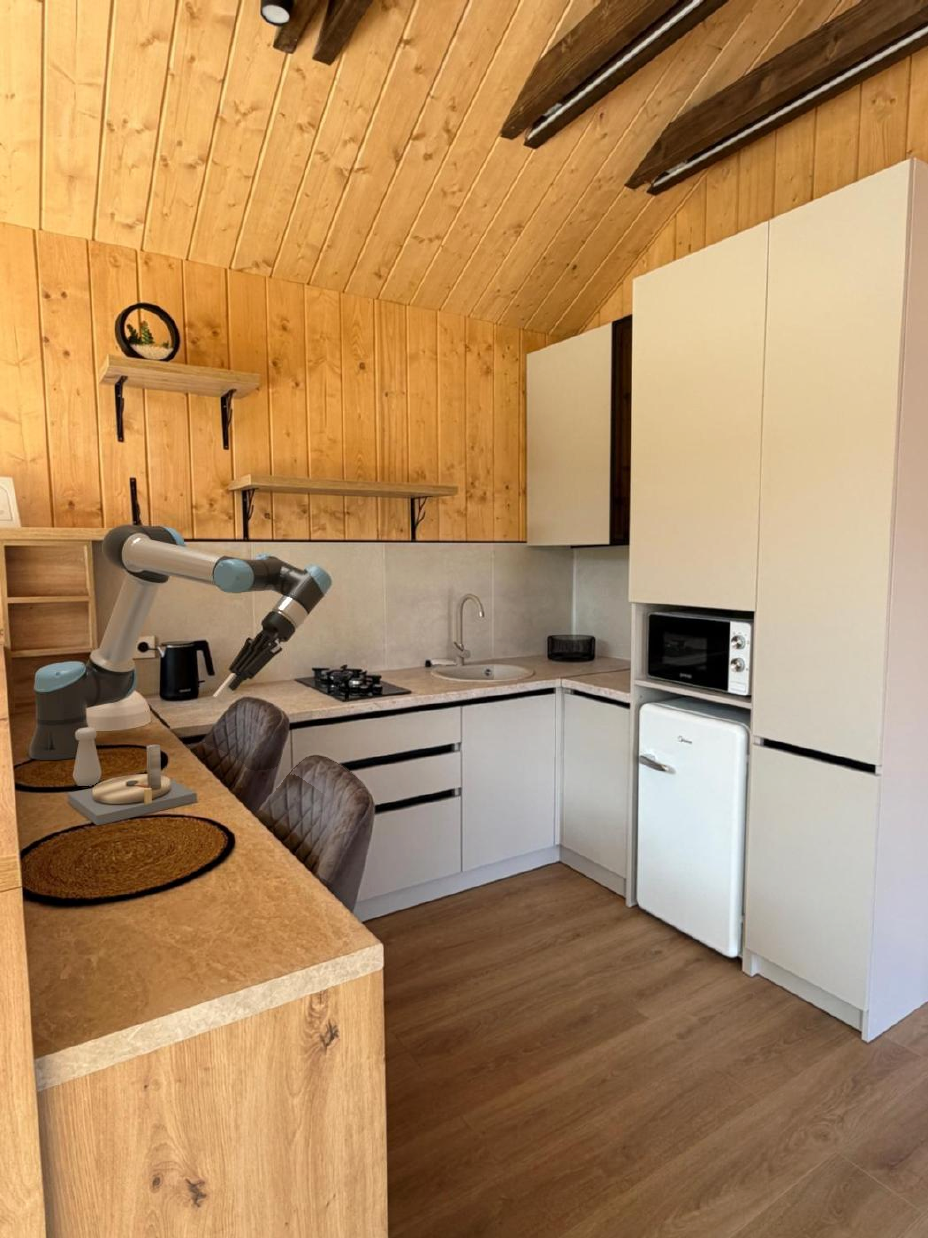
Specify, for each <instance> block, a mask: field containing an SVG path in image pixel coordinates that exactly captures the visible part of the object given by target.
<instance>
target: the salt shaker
mask: <svg viewBox="0 0 928 1238" xmlns="http://www.w3.org/2000/svg"><path fill="white" fill-rule="evenodd" d="M97 732H98V731H96V730H95V729H94V728H89V727H87V728H81V729H78V730H77V731H76V733H75V738H76V739H77V740H79V744H78V750H77V755H76V757H75V761H74V767H73V773H72V777H73V779H74V782H75V783H76V785H77V787H78V786H89V787H93V786H92V785H94V786H95V784H96V783H97V784H98V783H100V782H99V781H100V778H101V776H102V773H103V772H102V768H101V765H100V759H99V756H98V751H97V747H96V746H97V745H96V742H95V741H94V740H95V739H96V738H97V735H98V733H97ZM97 784H96V785H97Z"/></svg>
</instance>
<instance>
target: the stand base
mask: <svg viewBox="0 0 928 1238" xmlns="http://www.w3.org/2000/svg"><path fill="white" fill-rule="evenodd" d="M161 775H162V776H165V777H167V778H169V779H170V790H169V791H168V792H167V793H166V794H164V795H162V796H159V797H157V798H154V799H152V789H151V788H146V789H144V801H141V802H135V803H125V804H109V803H102V802H98V801H96V800H94V798H93V787H91V788H87V789H81V790H78V791H73V792H68V793H67V803H68V804H69V805H70V806H72V807H73V808H74V809H76V810H77V811H78V812H79V813H81V814H82V815H83V816H84V817H86V818H87V819H88V820H89V821H91V822H92V823H93V824H94V825H96V826H98V827H99V826H103V825H105V824H109V823H114V822H118V821H119V822H120V821H123V820H127V819H131V818H135V817H140V816H144V815H147V814H152V813H156V812H159V811H164V810H169V809H172V808H173V809H174V808H177V807H181V806H185V805H190V804H193V803H197V802H198V800H197V799H198V796H197V795H198V794H197V793H198V792H196V791H194V790H192V789H190V788H188V787H187V786H185V785H183V784H181V783H179V782H178V781H176V780H174V779H172V778H170V777H168V776H167V775H165V774H163V773H161Z"/></svg>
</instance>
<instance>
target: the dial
mask: <svg viewBox="0 0 928 1238" xmlns="http://www.w3.org/2000/svg"><path fill="white" fill-rule="evenodd" d="M161 764H162V763H161V745H160V744H150V745H147V746H146V773H142V774H141V773H140V774H137V773H136V774H128V775H123V776H117V777H112V778H109V779H108V778H107V780H103V781H100V782H98V783H97V784H96V785H94V786H92V788H93V798H94V800H96V801H98V802H102V803H109V804H125V803H135V802H141V801H144V789H146V788H151V789H152V799H154V798H157V797H159V796H162V795H164V794H166V793H167V792H168V791H169V790H170V779H171V778H170V777H169V778H170V779H169V778H167V777H168V776H167V777H165V776H166V775H165V776H162V775H161V774H162V773H161V771H162V769H161V768H162V767H161Z"/></svg>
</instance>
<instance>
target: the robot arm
mask: <svg viewBox="0 0 928 1238" xmlns="http://www.w3.org/2000/svg"><path fill="white" fill-rule="evenodd" d="M101 550H102V551H101V552H102V555H103V557H104V559H105V560H106V562H107V563H108V564H110V566H112V567H113V568H115V569H118V570H122V571H124V572H125V574H126V575H125V576H124V580H123V583H122V585H121V589H120V591H119V594H118V596H117V599H116V601H115V605H114V607H113V610H112V613H111V616H110V619H109V620H108V624H107V626H106V629H105V631H104V635H103V637H102V640H101V642H100V645H99V648H97V649H94V650H93V651H91V653H90V655H89V658H88V660H87V663H86V664H85V663H84V662H81V661H71V660H70V661H63V662H56V663H51V664H48V665H45V666H42V667H41V668H39V669H38V670H37V671H36V672H35V675H34V684H33V690H34V697H35V698H34V699H35V700H34V702H35V703H34V704H35V721H36V722H35V724H36V726H35V730H34V732H33V734H32V735H33V736H32V738H31V741H30V745H29V750H28V751H29V757H30V758H31V759H34V760H39V761H56V760H58V761H60V760H67V759H69V760H70V759H74V758H75V759H76V755H77V750H78V744H79V740H77V739H76V738H75V733H76V731H77V730H78V729H81V728H87V727H89V726H88V723H87V714H86V713H87V712H86V708H90V707H95V706H99V705H104V704H109V703H115V702H118V701H120V700H123V699H126V698H127V697H129V696H130V695H131V694H132V693H133V692H134V690H135V691H136V688H137V686H138V681H139V677H138V676H137V674H138V671H137V669H136V664H135V663H136V662H135V660H134V659H133V655H134V653H135V651H136V649H137V645H138V643H139V640H140V637H141V635H142V631H143V629H144V627H145V624H146V621H147V620H148V617H149V614H150V611H151V608H152V606H153V604H154V601H155V598H156V595H157V593H158V591H159V588H160V586H162V585H164V584H167V582H168V580H169V579H170V577H174V578H179V579H182V580H185V581H191V582H196V583H200V584H204V585H209V586H212V587H213V586H214V587H217V588H218V589H219V590H220V591H221V592H223V593H227V594H228V593H229V594H242V593H250V592H253V593H254V592H263V591H264V592H266V591H273V592H275V593H277V594H280V595H282V596H281V597H280V598H279V599H278V601H277V602H276V603H275V604H274V606H272V608H271V611H269V612H268V613H267V615H265V616H264V618H263V619H262V620H261V622H260V623H261V627H262V629H261V630H260V632H259V633H256V636H255V637H254V638H251V637H250V636H249V637H247V638H246V639H245V642H244V645H243V646H242V647H241V649H240V651H239V652H238V654H237V656H236V657H235V658H234V660H233V661H232V662H231V664H230V666H229V668H228V670H229V672H230V674H229V675H228V677H227V678H226V679H225V680H224V682H223V683H221V685H220V686H219V688H218V689H217V690H216V691H215V692H214V694H213V695H212V697H213V698H215V699H216V700H217V701H218V702H219V703H220V704H222V705H225V704H226V703H227V701H228V700H229V699H230V698H231V697H232V695H233V694H234V693H235V691H236V690H237V689H238V688H239V687H240V686H241V684H242V683H243V682H244V681H247V680H248V679H249V680H252V679H253V678H255V676H256V675H257V674H258V673H259V672H260V671H261V670H262V669H264V667H265V666H266V665H267V664H268V663H269V662H271V660H272V659H273V658H274V657H276V656H277V655H278V654H280V653H281V652H282V651H283V648H282V646H280V644H282V643H287V642H288V641H289V640H290V639H291V638H292V636H293V635H294V634H295V633H296V629H299V627H300V626H301V625H303V624H304V621H305V620H306V618H307V617H308V616H309V615H310V613H311V612H312V611H313V610H314V609H315V608H316V606H318V604H319V603H320V601H321V600H322V599H323V598H324V597H325V595H326V594H327V593H328V592H329V589H330V588H331V587H332V585H333V580H332V577H331V576H330V574H329V573H328V571H326V570H325V569H324V568H322V566H319V565H317V564H313V563H312V564H309V565H307V566H306V567H304V569H301V568H298V567H295V566H293V564H290V563H288V562H286V561H284V560H281V559H280V558H278V557H277V556H275V555H271V554H268V553H260V554H258V556H255V557H254V558H253V559H248V558H247V559H246V558H243V559H242V558H238V557H235V556H229V555H223V554H218V553H214V552H211V551H206V550H205V551H204V550H201V549H195V548H191V547H188V546H186V544H185V540H184V538H183V536H182V535H181V534H180V533H179V532H178V531H177V530H176V529H174V528H173V527H167V526H162V525H139V524H136V525H135V524H121V525H119V526H115V527H113V528H111V530H109V531H107V533H106V534H105V536H104V538H103V539H102V544H101ZM94 741H95V739H94Z"/></svg>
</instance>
